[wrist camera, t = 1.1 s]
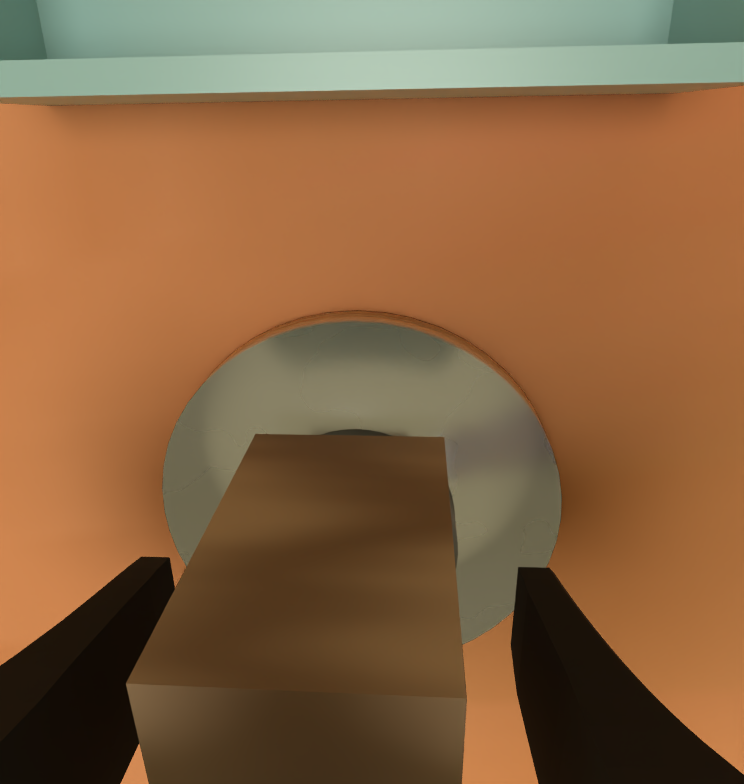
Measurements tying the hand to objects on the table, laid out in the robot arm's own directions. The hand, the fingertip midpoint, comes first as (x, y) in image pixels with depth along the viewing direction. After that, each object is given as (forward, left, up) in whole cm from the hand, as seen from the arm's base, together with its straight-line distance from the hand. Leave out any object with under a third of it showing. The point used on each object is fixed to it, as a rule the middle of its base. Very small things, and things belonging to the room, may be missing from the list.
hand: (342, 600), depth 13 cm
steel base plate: (0, 0, -4) cm, 4 cm away
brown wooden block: (0, 0, -3) cm, 3 cm away
